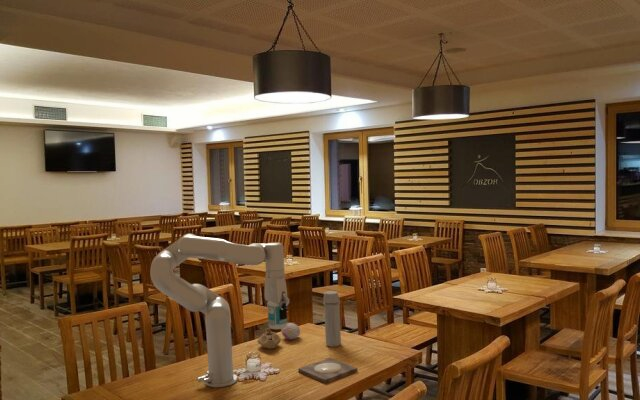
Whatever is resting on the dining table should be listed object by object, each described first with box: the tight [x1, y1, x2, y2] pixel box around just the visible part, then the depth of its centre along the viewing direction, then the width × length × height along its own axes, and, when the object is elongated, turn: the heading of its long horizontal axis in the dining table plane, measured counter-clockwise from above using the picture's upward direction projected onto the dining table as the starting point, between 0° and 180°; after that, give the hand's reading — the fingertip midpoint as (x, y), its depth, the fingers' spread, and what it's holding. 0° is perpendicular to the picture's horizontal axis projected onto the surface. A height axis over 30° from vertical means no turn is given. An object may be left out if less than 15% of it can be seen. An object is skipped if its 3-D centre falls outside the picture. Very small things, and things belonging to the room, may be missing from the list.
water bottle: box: [322, 290, 342, 348], centre depth 242 cm, size 9×8×25 cm
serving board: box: [298, 357, 358, 384], centre depth 210 cm, size 17×17×2 cm
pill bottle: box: [267, 300, 288, 330], centre depth 208 cm, size 8×7×14 cm
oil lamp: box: [257, 327, 282, 350], centre depth 244 cm, size 11×15×8 cm
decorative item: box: [280, 322, 301, 340], centre depth 257 cm, size 9×11×10 cm
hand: (277, 316), depth 209 cm, fingers closed on pill bottle, 7 cm apart
